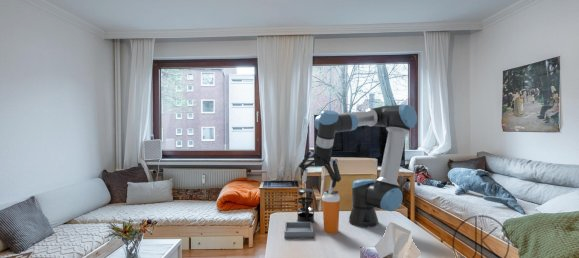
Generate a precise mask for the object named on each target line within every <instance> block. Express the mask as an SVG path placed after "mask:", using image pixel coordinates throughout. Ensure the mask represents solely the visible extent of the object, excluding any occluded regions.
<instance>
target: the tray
mask: <svg viewBox="0 0 579 258" xmlns="http://www.w3.org/2000/svg"><path fill="white" fill-rule="evenodd" d="M284 239H314V227H313V223H312V222H297V221H285V222H284Z"/></svg>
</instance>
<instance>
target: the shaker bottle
mask: <svg viewBox="0 0 579 258" xmlns="http://www.w3.org/2000/svg"><path fill="white" fill-rule="evenodd" d="M328 192H329V189H325V190H324V192H323V195H322V196H321V198H322V199H321V201H322V214H323V215H322V220H323V232H325V233H327V234H331V235H332V234H338V232H339V225H340V224H339V223H340V203H341V202H340V201H341V196H340V194H339V191H338V190H332V193H331V194H328Z"/></svg>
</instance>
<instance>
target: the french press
mask: <svg viewBox="0 0 579 258" xmlns="http://www.w3.org/2000/svg"><path fill="white" fill-rule="evenodd" d="M307 181H310V179H308V178H306V182H305V183H304V187H305V188H298V189H297V195H298V196H301V197H299V198H297V200H296V201H297V203H296V204H297V205H296V206H297V210H296V211H297V220H296V222H312V224H313V223H314V222H315V217H314V216H315V215H314V214H315V207H314V206H315V200H314V198H313V197H310V196H308V197H307V194H310V195H311V196H313V195H314V189H312V188H307V184H306V183H307ZM303 195H304V196H303ZM299 204H301V207H299ZM310 204H312V207H310V206H309V205H310Z"/></svg>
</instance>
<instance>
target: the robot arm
mask: <svg viewBox="0 0 579 258" xmlns="http://www.w3.org/2000/svg"><path fill="white" fill-rule="evenodd" d="M313 123H314V127H315V129H316V130H317V134H316V141H315V147H314V151H312V150H311V149H310V150H309V151H307V154H306V156H305V157H304V158H303V160H302V161H301V162H300V163H299V165H298V167H299V169H301V176H302V178H301V184H305V182H306V183H307V181H306V179H308V178H307V176H308V170H309V169H308V168H309V167H311V166H312V165H313V164H317V165H320V166H322V167H324V168H325V169H326V171H327V173H328V175H329V177H330V179H331V180H330V183H329V188H328V191H329V192H328V194H331V193H332V191H334V189H335V187H336V185H337V183H339V182H340V181H342V177H341V174H340V169H339V165H338V159H337V158H335V159H334V158H332V157H331V156H332V153H333V146H334V143H335V137H336V136H335V135H336V133H340V132H342V133H344V132H351V131H355V130H356V129H357V128H358V127H362V126H367V127H381V128H382V127H383V128H385V130H386V131H387V137H386V143H385V147H384V151H383V158H382V163H381V167H380V172H379V177H378V178H377V179H374V178H373V179H372V178H370V179H368V178H365V179H364V178H363V179H356V180H354V181H353V182H352V187H351V190H352V193H351V195H352V207H351V211H350V214H349V217H348V219H349V221H348V222H349V224H351V225H353V226H356V227H358V228H359V227H361V228H373V227H376V226H378V224H379V219H378V215H377V211H376V209H380V210H381V211H385V212H386V211H387V212H394V211H396V210H397V209H399V207H400V206H401V204H402V202H403V199H404V198H403V197H404V196H403V191H402V190H401V189H400V184H399V183H398V178H399V173H400V169H401V168H400V167H401V163H402V157H403V152H404V146H405V141H406V136H407V135H408V134H409V133H410V132H411V129H412V128H415V126H416V125H417V123H418V114H417V112H416V110H415V108H414V107H413V106H412V105H409V104H396V105H395V104H393V105H383V106H382V105H381V106H378V107H372V108H368V109H366V110H365V111H364V110H362V111H353V112H352V111H351V112H344V113H338V112H337V111H335V110H328V109H325V110H323V111H321V112H320V115H317V116H316V117H315V119H314V121H313ZM311 157H312V158H313V160H311V161H310V162H309V163H307V162H308V161H309V159H310V158H311ZM306 163H307V164H306ZM331 165H332V166H331Z"/></svg>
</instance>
